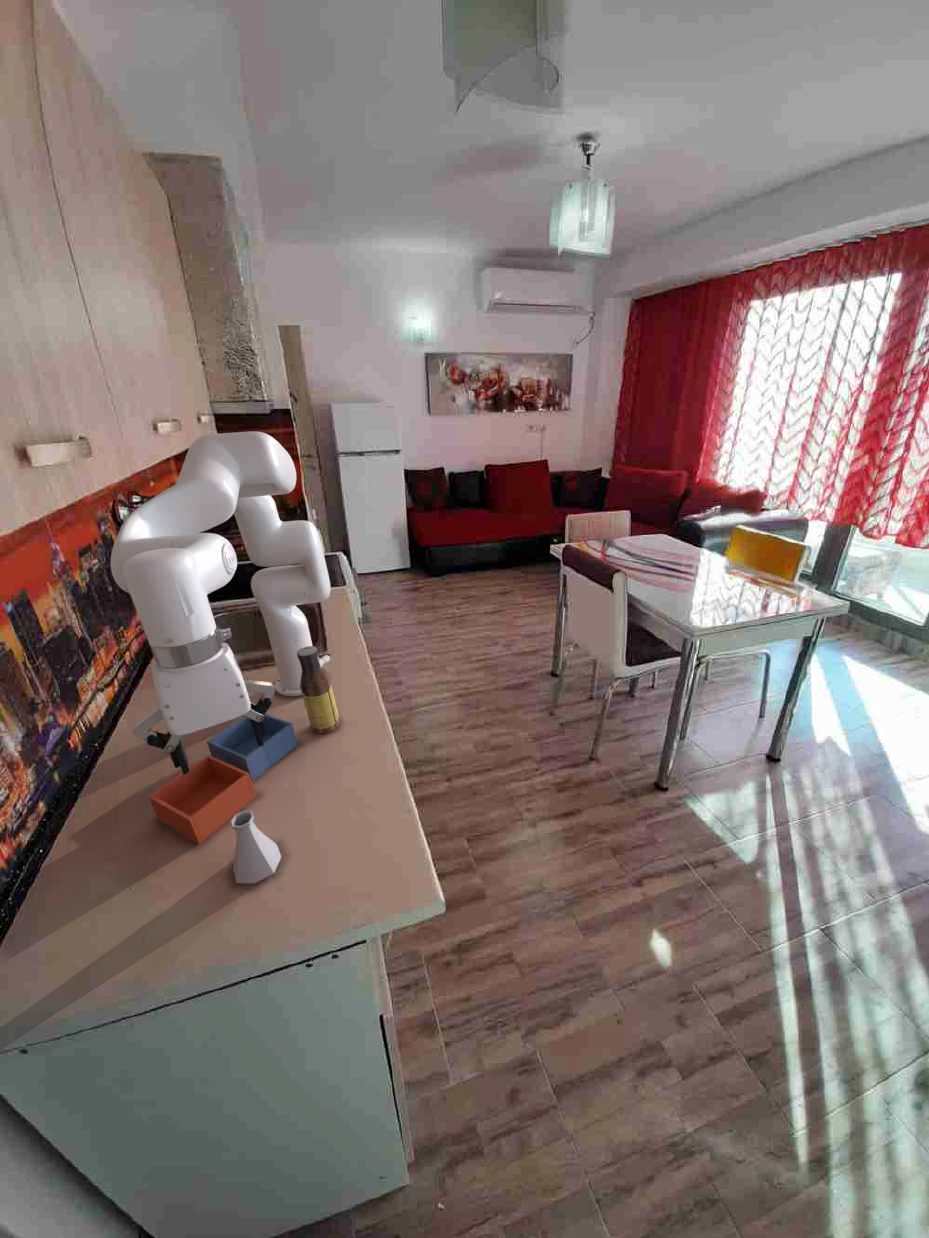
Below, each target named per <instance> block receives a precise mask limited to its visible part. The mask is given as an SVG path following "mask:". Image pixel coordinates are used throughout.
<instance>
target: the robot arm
mask: <svg viewBox="0 0 929 1238" xmlns="http://www.w3.org/2000/svg"><path fill="white" fill-rule="evenodd" d="M296 484H297V470H296V467H295V462H294V460H293V459H292V456H291V455H290V453H289V452H288V451H287V450H286V449H285V448H284V446H282V445H281V443H280V442H279V441H278V440H277V439H275V438H274V437H273V436H272V435H269V434H267V433H266V432H262V431H238V432H222V433H221V432H220V433H212V434H210V433H209V434H205V435H202V436H199V437H198V438H195V440H193V441H192V443H191V444H190V446H189V448H188V450H187V453H186V455H185V458H184V461H183V464H182V466H181V469H180V472H179V475H178V477H177V480H176V484H174V485H172V486H170V487H168V488H166V489H165V490H163V491H162V492H160V493H158V494H157V495H155V496H154V497H152V498H150V499H149V500H148V501H146V502H144V503H142V504H141V505H140V506H138V507H136V508H135V509H134V510H133V511H132V512H131V513H129V515H127V517H126V518H125V519H124V521H123V523H122V524H121V526H120V529H119V531H118V534H117V536H116V538H115V540H114V543H113V546H112V550H111V555H110V571H111V574H112V577H113V580H114V581H115V583H116V584H117V586H118V587H119V588H120V589H121V590H122V591H123V592H126V593H127V594H129V595H130V597H131V599H132V602H133V605H134V607H135V610H136V613H137V616H138V618H139V621H140V623H141V626H142V628H143V631H144V634H145V636H146V640H147V641H148V645H149V647H150V650H151V654H152V656H153V658H154V661H152V662H151V664H150V667H151V669H150V671H151V676H152V682H153V686H154V691H155V695H156V699H157V702H158V705H157V706H156V707H155V708H154V709H152V710H151V711H150V712H148V713H147V714H146V715H145V716H143V718H141V719H140V720H138V722H135V724H133V726H132V734H133V735H134V736H136V737H137V738H138V739H140V740H141V741H143V742H146V744H147V745H148V746H151V747H155V748H157V749H161V750H164V752H165V753H168V754H169V756H170V759H171V761H172V763H173V765H174V768H175V769H177V768H180V769H181V773H183V774H187V773H188V772H189V768H190V762H189V758H188V756H187V753H186V750H185V748H184V746H183V745H184V744H183V742H182V738H183V736H186V735H190V734H194V733H196V732H199V731H202V730H206V729H208V728H210V727H214V726H217V725H220V724H223V723H226V722H229V721H232V720H234V719H237V718H238V719H239V718H241V717H242V716H243V717H244V716H245V717H248V718H250V720H251V724H252V727H253V730H254V734H255V737H256V740H257V743H258V746H260V747H261V746H263V745H264V744H263V740H262V737H264V736H267V735H266V732H265V728H264V725H263V721H262V720H263V719H264V715H265V714H267V712H268V710H269V709H270V708H271V706H272V705H273V703H272V701H273V700H274V696H275V692H276V693H277V694H279V695H281V696H285V697H298V696H302V692H301V688H300V683H301V675H302V670H301V664H300V660H299V659H298V656H297V652H298V650H299V649H301V648H304V647H307V646H313V642H312V637H311V632H310V628H309V623H308V620H307V617H306V616H305V613H304V612H302V610H301V609H300V608H299V607H297V606H300V605H309V604H317V603H321V602H324V601H326V600H328V599H329V597H330V595H331V592H332V591H331V590H332V589H331V588H332V587H331V581H330V576H329V571H328V567H327V562H326V557H325V553H324V548H323V544H322V540H321V537H320V533H319V531H318V529H317V527H316V526H315V525H314V523H312V522H310V521H309V520H304V519H303V520H289V521H282V520H281V519H280V516H279V512H278V509H277V504H276V501H275V499H274V498H273V497H272V496H279V495H281V496H282V495H288V494H290V493H291V492H293V490H294V489H295V487H296ZM233 515H234V517H235V521H236V524H237V527H238V529H239V533H240V535H241V539H242V542H243V545H244V548H245V551H246V553H247V556H248V558H249V561H251V563H252V564H254V565H255V566H258V567H266V568H262V569H259V570H258V571H256V572H255V573H254V574H253V575H252V577H251V579H250V587H251V591H252V596H253V598H254V600H255V602H256V603H257V606H258V608H259V610H260V612H261V615H262V618H263V621H264V624H265V628H266V632H267V635H268V640H269V644H270V647H271V652H272V655H273V660H274V663H275V667H276V670H277V674H278V678H277V679H276V681H275V682H271V681H263V680H253V679H244V676H243V674H242V671H241V668H240V665H239V663H238V661H237V658H236V656H235V654H234V652H233V650H232V649H231V647H230V645H229V644H228V643H227V642H224V641H227V640H228V639H231V638H233V635H232V631H231V628H230V627H227V628H220V626H217V624H216V621H215V618H214V615H213V611H212V608H211V605H210V601H209V597H208V595H209V594H212V593H213V592H215V591H217V590H219V589H221V588H223V587H225V586H226V585H227V584H229V582H231V580H232V579H233V577H234V576H235V573H236V570H237V567H238V558H237V553H236V551H235V549H234V547H233V544H232V543H231V542H230V541H229V540H228V539H227V538H225V537H224V536H222V535H220V534H218V533H211V532H206V531H208V530H211V529H212V528H215V527H218V526H219V525H221V524H223V523H225V522H227V521H229V520H230V518H231V517H232V516H233ZM318 659H319V663H320V667H321V668H323V665H325V664H327V663H329V662H330V661H331V657H330V656H329V655H328V654H325V655H323V656H322V657H319V656H318ZM249 693H259V694H262V695H261V697H260V699H259V700H258V701H257V703H255V702H252V701H251V699H250V695H249ZM162 720H163V721H164V724H165V727H166V729H167V731H166V733H163V732H159V731H156V730H153V729H152V728H153V727H154V726H155V725H157V723H159V722H160V721H162Z"/></svg>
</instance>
